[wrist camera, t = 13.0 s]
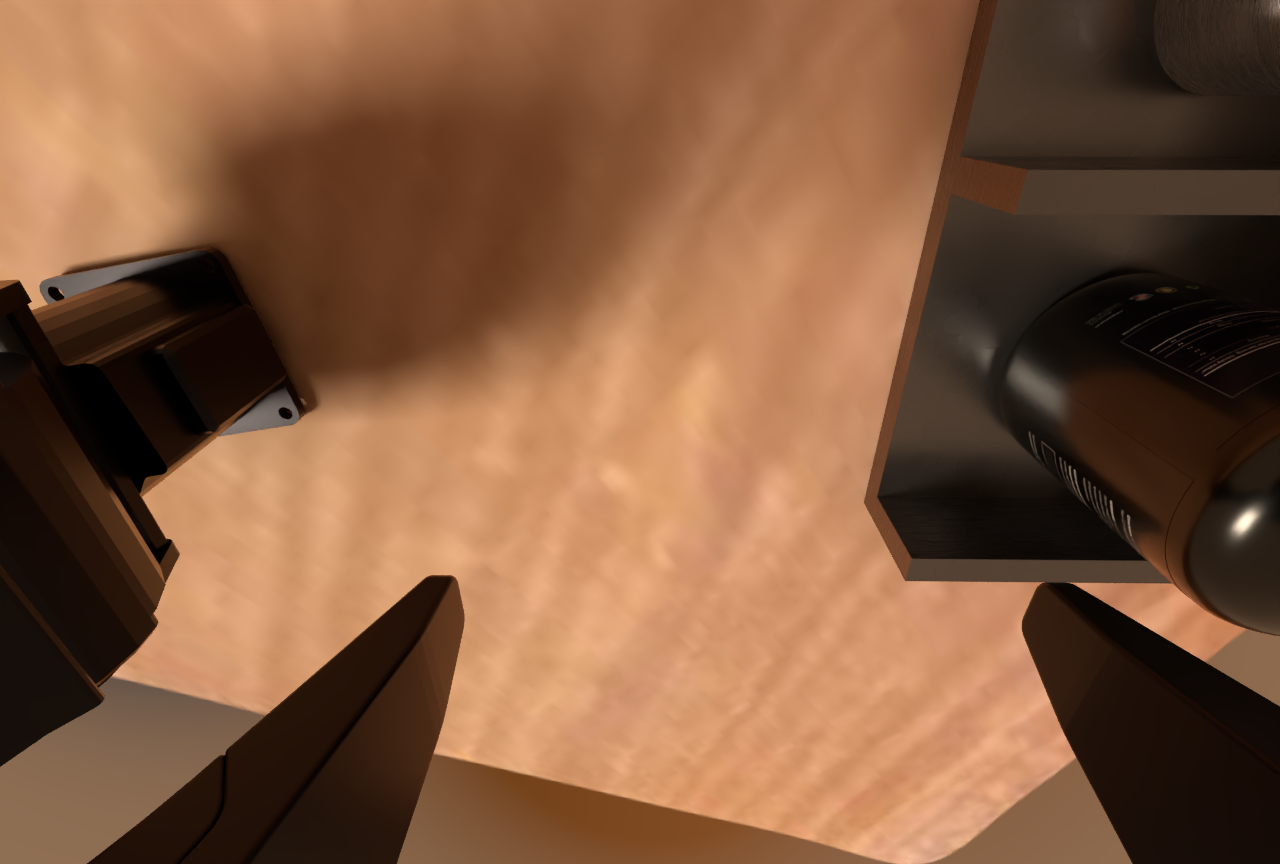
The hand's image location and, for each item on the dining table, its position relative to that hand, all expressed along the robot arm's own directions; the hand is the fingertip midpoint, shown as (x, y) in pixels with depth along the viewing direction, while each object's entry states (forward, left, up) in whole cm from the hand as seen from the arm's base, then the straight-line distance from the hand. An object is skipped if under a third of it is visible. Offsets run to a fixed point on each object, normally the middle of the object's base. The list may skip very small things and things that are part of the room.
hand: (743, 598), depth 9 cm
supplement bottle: (+13, -4, -12) cm, 18 cm away
